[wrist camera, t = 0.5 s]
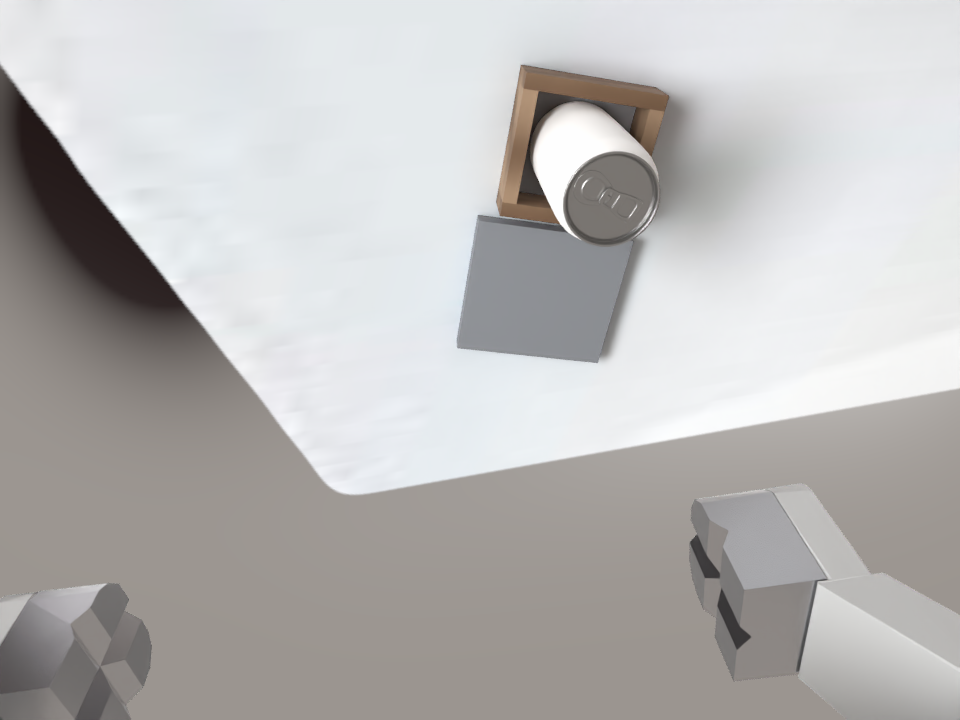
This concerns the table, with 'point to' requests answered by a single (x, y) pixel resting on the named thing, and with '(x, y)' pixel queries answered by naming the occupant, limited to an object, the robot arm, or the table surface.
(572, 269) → the coaster
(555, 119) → the can
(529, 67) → the square wooden frame
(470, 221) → the table surface
